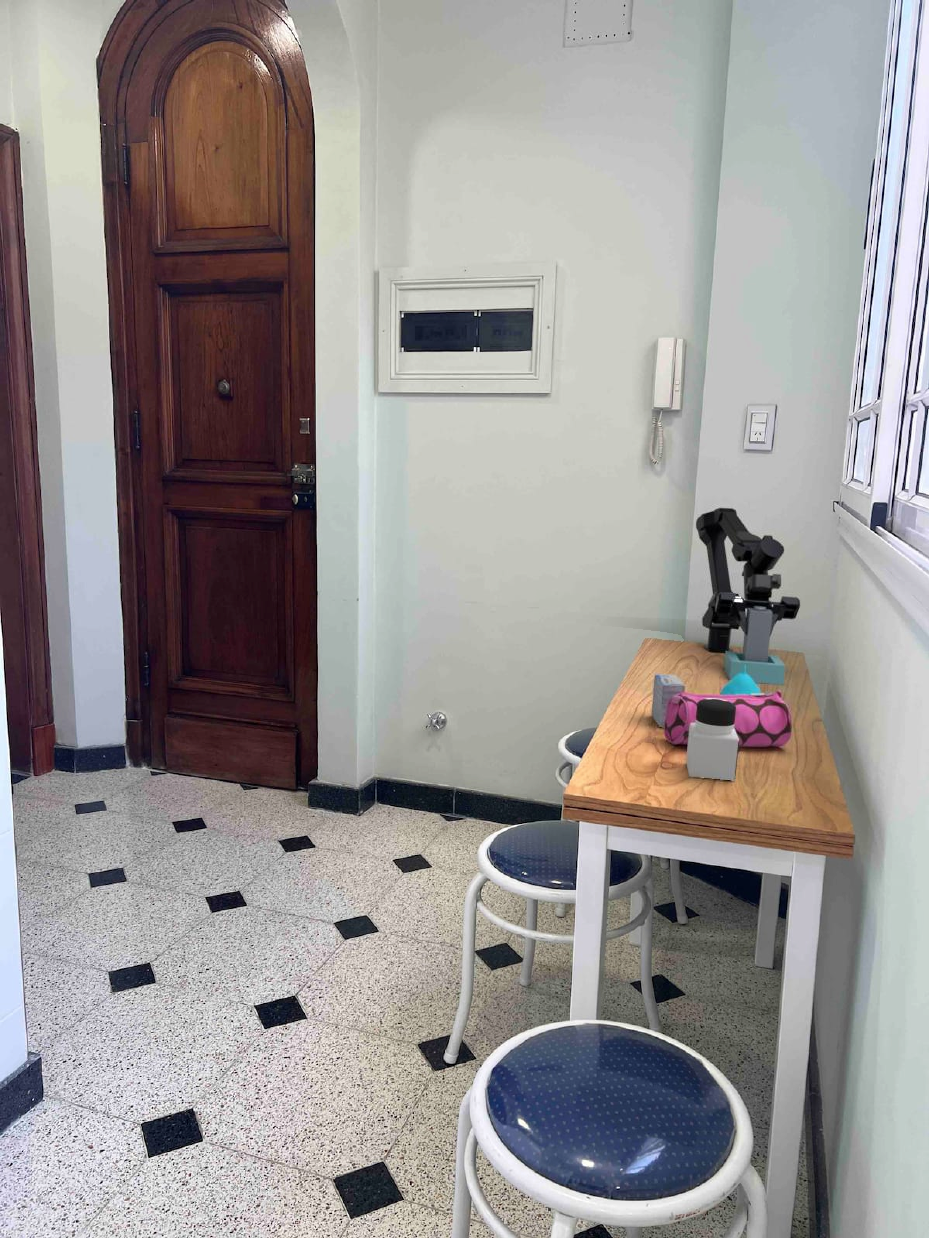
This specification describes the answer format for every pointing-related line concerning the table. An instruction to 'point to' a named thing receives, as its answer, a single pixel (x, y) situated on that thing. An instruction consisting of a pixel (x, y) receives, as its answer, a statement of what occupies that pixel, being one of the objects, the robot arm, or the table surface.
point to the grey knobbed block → (757, 634)
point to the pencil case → (754, 719)
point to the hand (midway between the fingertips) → (758, 634)
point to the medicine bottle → (713, 741)
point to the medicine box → (664, 695)
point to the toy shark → (740, 685)
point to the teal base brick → (755, 668)
